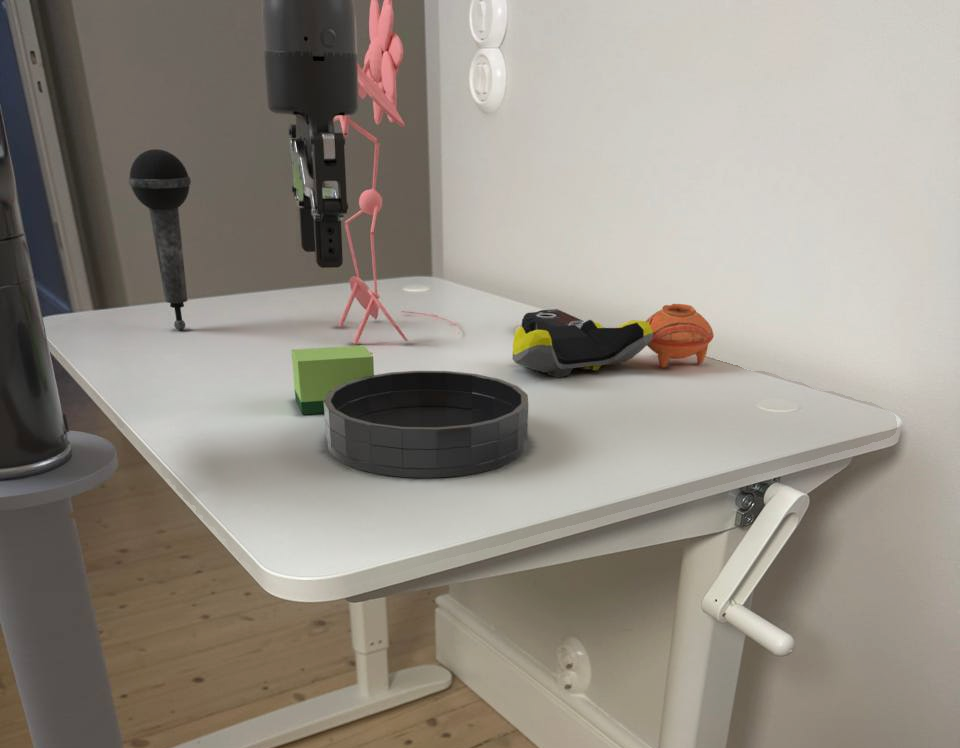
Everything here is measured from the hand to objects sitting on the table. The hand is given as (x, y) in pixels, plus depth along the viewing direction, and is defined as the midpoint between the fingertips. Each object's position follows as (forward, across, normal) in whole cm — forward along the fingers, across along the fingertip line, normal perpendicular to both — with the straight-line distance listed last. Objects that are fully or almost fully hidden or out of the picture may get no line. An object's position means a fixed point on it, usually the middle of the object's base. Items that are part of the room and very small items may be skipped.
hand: (321, 258), depth 88 cm
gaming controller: (+13, -6, +28) cm, 31 cm away
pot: (+13, -6, +40) cm, 42 cm away
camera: (+13, -22, +32) cm, 40 cm away
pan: (+13, +13, +6) cm, 20 cm away
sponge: (+13, 0, +1) cm, 13 cm away
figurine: (+13, -28, +14) cm, 34 cm away
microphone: (+14, -36, -12) cm, 40 cm away
